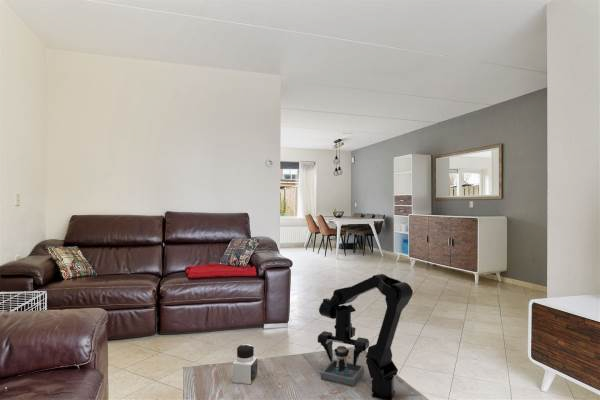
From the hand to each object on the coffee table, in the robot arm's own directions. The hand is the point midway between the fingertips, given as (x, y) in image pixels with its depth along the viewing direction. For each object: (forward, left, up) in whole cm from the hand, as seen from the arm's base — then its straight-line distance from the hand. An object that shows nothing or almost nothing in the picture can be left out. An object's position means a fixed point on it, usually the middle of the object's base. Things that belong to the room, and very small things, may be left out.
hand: (342, 363), depth 138 cm
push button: (0, 0, -4) cm, 4 cm away
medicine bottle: (+31, +19, -5) cm, 37 cm away
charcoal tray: (0, 0, -4) cm, 4 cm away
